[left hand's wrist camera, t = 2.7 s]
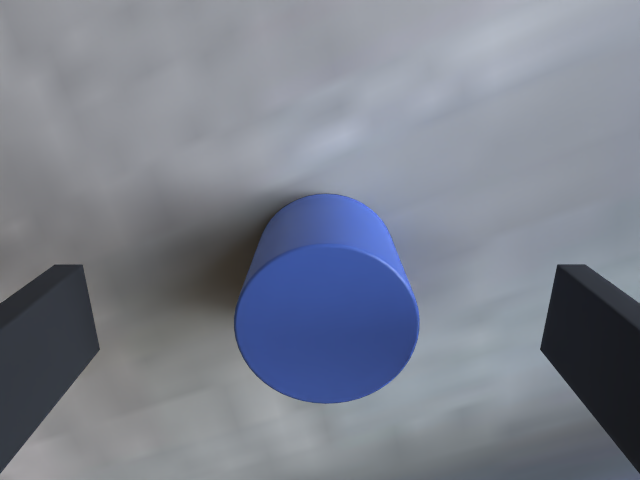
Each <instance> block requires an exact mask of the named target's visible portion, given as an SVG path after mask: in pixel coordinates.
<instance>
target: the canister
mask: <svg viewBox="0 0 640 480" xmlns="http://www.w3.org/2000/svg"><path fill="white" fill-rule="evenodd" d="M419 321H420V319H419V311H418V306H417V303H416V299H415V297H414V294H413V291H412V289H411V286H410V284H409V281H408V279H407V276H406V274H405V271H404V269H403V266H402V264H401V261H400V259H399V256H398V254H397V251H396V248H395V246H394V243H393V241H392V238H391V236H390V234H389V231H388V229H387V227H386V226H385V224H384V223H383V221H382V220H381V219H380V218H379V217H378V215H377V214H376V213H374V212H373V211H372V210H371V209H370V208H368V207H367V206H365V205H364V204H362V203H360V202H358V201H356V200H354V199H352V198H349V197H346V196H341V195H336V194H316V195H311V196H307V197H303V198H300V199H298V200H296V201H293V202H291V203H290V204H288V205H286V206H285V207H283V208H282V209H281V210H280V211H279V212H277V213H276V214H275V215H274V216H273V218H272V219H271V220H270V221H269V223H268V224H267V226H266V227H265V229H264V231H263V233H262V235H261V238H260V241H259V244H258V246H257V249H256V252H255V254H254V257H253V260H252V263H251V265H250V268H249V271H248V274H247V276H246V279H245V282H244V284H243V287H242V290H241V293H240V295H239V298H238V301H237V305H236V308H235V315H234V331H235V337H236V341H237V344H238V348H239V350H240V352H241V354H242V356H243V358H244V360H245V362H246V363H247V365H248V366H249V368H250V369H251V370H252V371H253V372H254V373H255V375H256V376H257V377H259V378H260V379H261V380H262V381H263V382H264V383H266V384H267V385H268V386H270V387H271V388H273V389H274V390H276V391H278V392H280V393H282V394H284V395H287V396H289V397H292V398H295V399H298V400H302V401H306V402H312V403H325V404H327V403H341V402H347V401H352V400H355V399H359V398H362V397H364V396H367V395H369V394H371V393H373V392H375V391H377V390H379V389H381V388H382V387H384V386H385V385H387V384H388V383H389V382H390V381H392V380H393V379H394V378H395V377H396V376H397V375H398V374H399V373H400V372H401V371H402V369H403V368H404V367H405V365H406V364H407V362H408V361H409V359H410V357H411V355H412V353H413V351H414V349H415V346H416V343H417V340H418V334H419Z"/></svg>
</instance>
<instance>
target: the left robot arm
mask: <svg viewBox="0 0 640 480" xmlns="http://www.w3.org/2000/svg"><path fill="white" fill-rule="evenodd" d="M99 350H100V348H99V343H98V338H97V333H96V328H95V323H94V318H93V313H92V308H91V304H90V299H89V294H88V289H87V284H86V279H85V274H84V269H83V265H54V266H52V267H51V268H49V269H48V270H47V271H45V272H44V273H42V274H41V275H40V276H38V277H37V278H35V279H34V280H33V281H31V282H30V283H28V284H27V285H26V286H24V287H23V288H21V289H20V290H19V291H17V292H16V293H14V294H13V295H12V296H10V297H9V298H7V299H6V300H5V301H3V302H2V303H0V473H1V472H2V471H3V470H4V468H5V467H6V466H7V465H8V463H9V462H10V461H11V460H12V458H13V457H14V456H15V455H16V453H17V452H18V451H19V450H20V448H21V447H22V446H23V445H24V443H25V442H26V441H27V440H28V438H29V437H30V436H31V435H32V433H33V432H34V431H35V430H36V428H37V427H38V426H39V425H40V423H41V422H42V421H43V420H44V418H45V417H46V416H47V415H48V413H49V412H50V411H51V410H52V409H53V407H54V406H55V405H56V404H57V402H58V401H59V400H60V399H61V397H62V396H63V395H64V394H65V392H66V391H67V390H68V389H69V387H70V386H71V385H72V384H73V382H74V381H75V380H76V379H77V377H78V376H79V375H80V374H81V372H82V371H83V370H84V369H85V367H86V366H87V365H88V364H89V362H90V361H91V360H92V359H93V357H94V356H95V355H96V354H97V352H98V351H99ZM540 350H541V351H542V352H543V354H544V355H545V356H546V357H547V359H548V360H549V361H550V362H551V364H552V365H553V366H554V367H555V369H556V370H557V371H558V372H559V374H560V375H561V376H562V377H563V379H564V380H565V381H566V382H567V384H568V385H569V386H570V387H571V389H572V390H573V391H574V392H575V394H576V395H577V396H578V397H579V399H580V400H581V401H582V402H583V404H584V405H585V406H586V407H587V409H588V410H589V411H590V412H591V413H592V415H593V416H594V417H595V418H596V420H597V421H598V422H599V423H600V425H601V426H602V427H603V428H604V430H605V431H606V432H607V433H608V435H609V436H610V437H611V438H612V440H613V441H614V442H615V443H616V445H617V446H618V447H619V448H620V450H621V451H622V452H623V453H624V455H625V456H626V457H627V458H628V460H629V461H630V462H631V463H632V465H633V466H634V467H635V468H636V470H637V471H638V472H639V473H640V303H638V302H637V301H635V300H634V299H633V298H631V297H630V296H628V295H627V294H626V293H624V292H623V291H621V290H620V289H619V288H617V287H616V286H614V285H613V284H612V283H610V282H609V281H607V280H606V279H605V278H603V277H602V276H600V275H599V274H598V273H596V272H595V271H593V270H592V269H591V268H589V267H588V266H586V265H557V269H556V274H555V279H554V284H553V289H552V294H551V299H550V304H549V308H548V313H547V318H546V323H545V328H544V333H543V338H542V343H541V348H540Z"/></svg>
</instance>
